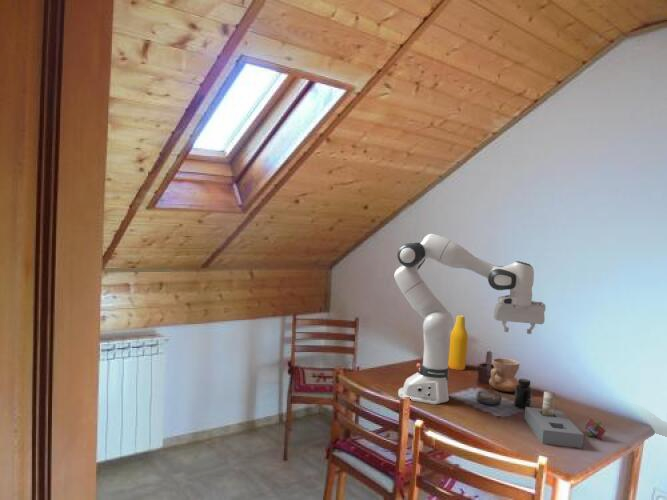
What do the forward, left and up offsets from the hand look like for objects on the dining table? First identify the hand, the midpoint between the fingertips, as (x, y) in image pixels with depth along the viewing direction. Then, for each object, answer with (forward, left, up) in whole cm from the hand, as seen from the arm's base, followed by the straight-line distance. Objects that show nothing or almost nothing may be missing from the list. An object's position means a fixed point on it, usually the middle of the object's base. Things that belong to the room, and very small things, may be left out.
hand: (517, 332), depth 213 cm
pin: (+11, -13, -33) cm, 37 cm away
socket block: (+11, -19, -34) cm, 40 cm away
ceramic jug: (+4, +31, -34) cm, 46 cm away
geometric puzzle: (+27, -19, -34) cm, 48 cm away
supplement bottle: (+7, +8, -34) cm, 36 cm away
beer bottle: (-14, +63, -34) cm, 73 cm away
